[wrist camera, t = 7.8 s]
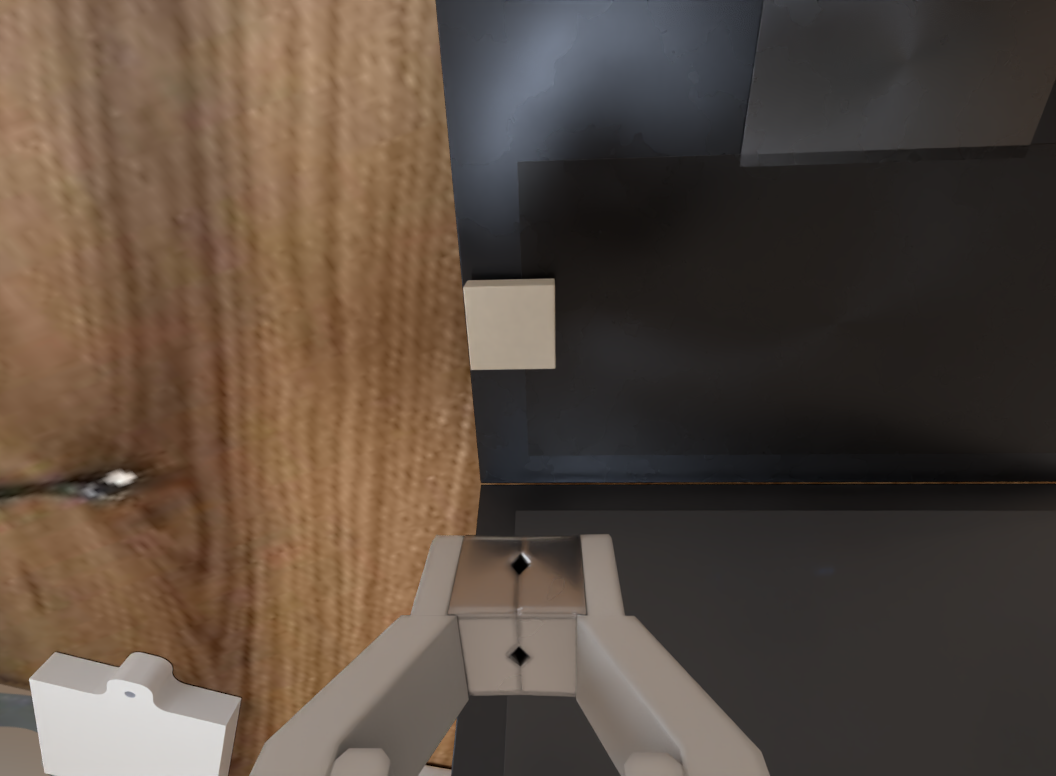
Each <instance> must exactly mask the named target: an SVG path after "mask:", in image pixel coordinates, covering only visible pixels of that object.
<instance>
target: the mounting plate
mask: <svg viewBox="0 0 1056 776" xmlns="http://www.w3.org/2000/svg"><path fill="white" fill-rule="evenodd" d="M172 671H173V668H172V665H171V664H170V663H169V662H168V661H167V660H165V659H163V658H161V657H158V656H154V655H150V654H146V653H141V652H134V653H132V654H130V655H129V656H128V658H127V659H126V660H125V661H124V663H123V664H122V665H121V666H120V667H114V666H110V665H106V664H102V663H98V662H94V661H90V660H86V659H82V658H78V657H74V656H70V655H65V654H61V653H57V652H55V653H54V654H53V655H52V656H51V657H50V658H49V659H48V660H47V661H46V662H45V663H44V664H43V665H42V666H41V667H40V668H39V669H38V670H37V671H36V672H35V673H34V674H33V675H32V676H31V677H30V679H29V681H30V687H31V693H32V699H33V705H34V711H35V717H36V723H37V729H38V735H39V742H40V747H41V753H42V760H43V766H44V772H45V773H47V774H52V775H56V776H228V772H229V767H230V761H231V755H232V749H233V744H234V738H235V732H236V726H237V720H238V715H239V709H240V703H241V698H240V697H236V696H232V695H228V694H223V693H219V692H215V691H211V690H207V689H203V688H199V687H195V686H191V685H187V684H184V683H181V682H179V681H178V680H176V679H175V678H174V676H173V674H172Z"/></svg>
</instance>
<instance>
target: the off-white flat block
mask: <svg viewBox="0 0 1056 776" xmlns="http://www.w3.org/2000/svg"><path fill="white" fill-rule="evenodd" d="M463 291H464V302H465V313H466V324H467V334H468V345H469V356H470V366H471V370H505V369H555V368H556V351H555V280H554V279H508V280H468V281H467V282H466V284H465V285H464V287H463Z"/></svg>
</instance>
